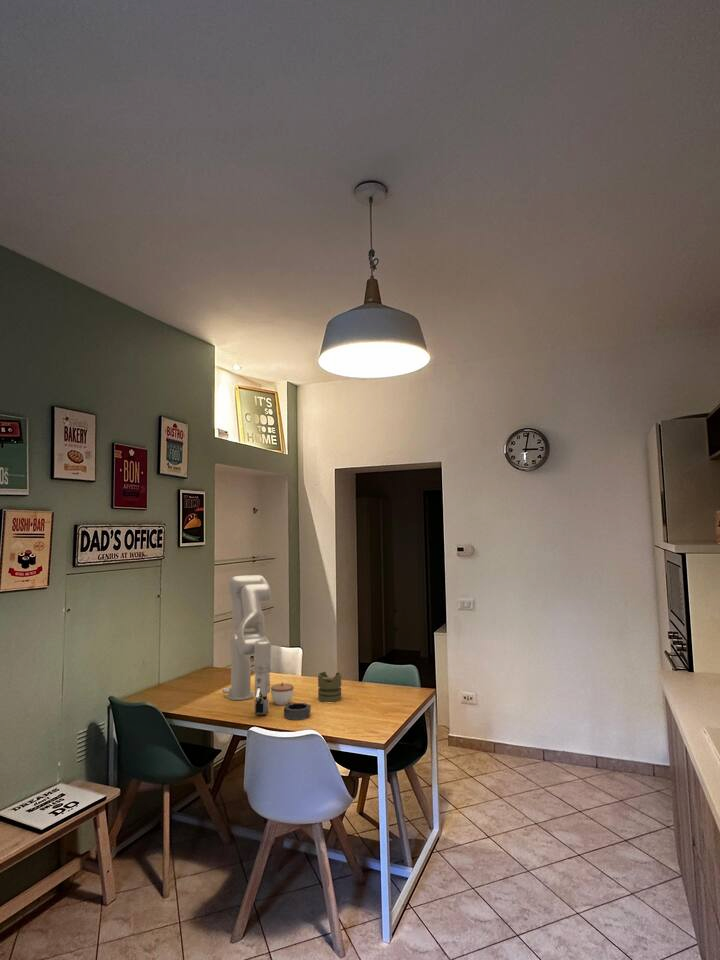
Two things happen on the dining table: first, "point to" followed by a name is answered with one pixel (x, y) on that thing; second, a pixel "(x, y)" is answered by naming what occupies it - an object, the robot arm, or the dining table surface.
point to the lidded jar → (282, 693)
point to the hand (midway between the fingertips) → (261, 709)
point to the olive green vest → (329, 687)
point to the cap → (265, 706)
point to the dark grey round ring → (297, 711)
